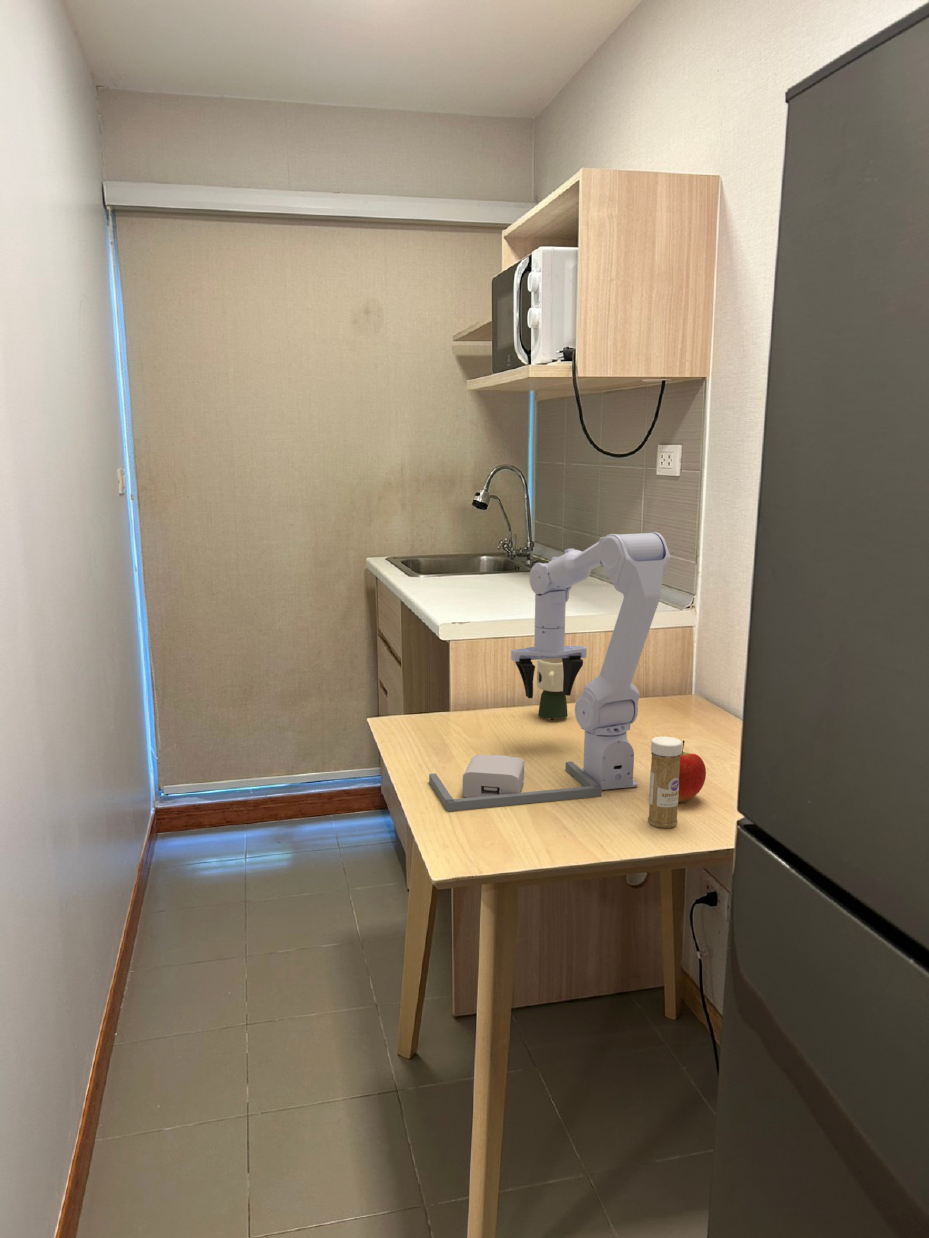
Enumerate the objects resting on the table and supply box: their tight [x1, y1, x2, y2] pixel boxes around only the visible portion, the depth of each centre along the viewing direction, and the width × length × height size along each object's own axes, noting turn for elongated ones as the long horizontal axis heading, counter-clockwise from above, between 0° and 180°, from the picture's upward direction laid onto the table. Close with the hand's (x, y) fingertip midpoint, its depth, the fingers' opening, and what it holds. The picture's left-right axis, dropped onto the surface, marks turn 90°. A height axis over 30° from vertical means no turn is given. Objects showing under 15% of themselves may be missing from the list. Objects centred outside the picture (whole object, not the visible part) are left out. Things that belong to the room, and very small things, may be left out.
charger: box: [462, 754, 525, 798], centre depth 154 cm, size 5×9×15 cm
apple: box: [678, 739, 707, 803], centre depth 146 cm, size 8×8×10 cm
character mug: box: [536, 658, 568, 721], centre depth 191 cm, size 11×7×13 cm, turn 167°
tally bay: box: [428, 761, 603, 812], centre depth 151 cm, size 13×26×2 cm, turn 105°
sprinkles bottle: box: [647, 735, 683, 829], centre depth 137 cm, size 5×5×14 cm
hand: (548, 695), depth 171 cm, fingers open, 7 cm apart
